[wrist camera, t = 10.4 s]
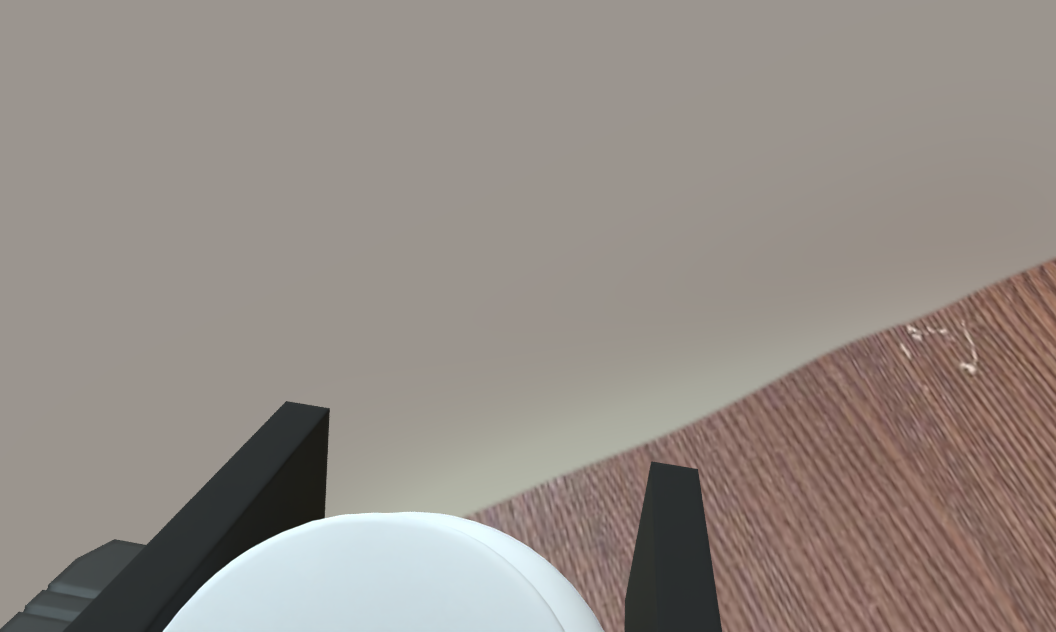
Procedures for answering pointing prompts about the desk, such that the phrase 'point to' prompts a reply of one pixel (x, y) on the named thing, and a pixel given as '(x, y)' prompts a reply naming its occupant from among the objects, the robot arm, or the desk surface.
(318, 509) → the robot arm
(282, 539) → the supplement bottle
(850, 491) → the desk surface
